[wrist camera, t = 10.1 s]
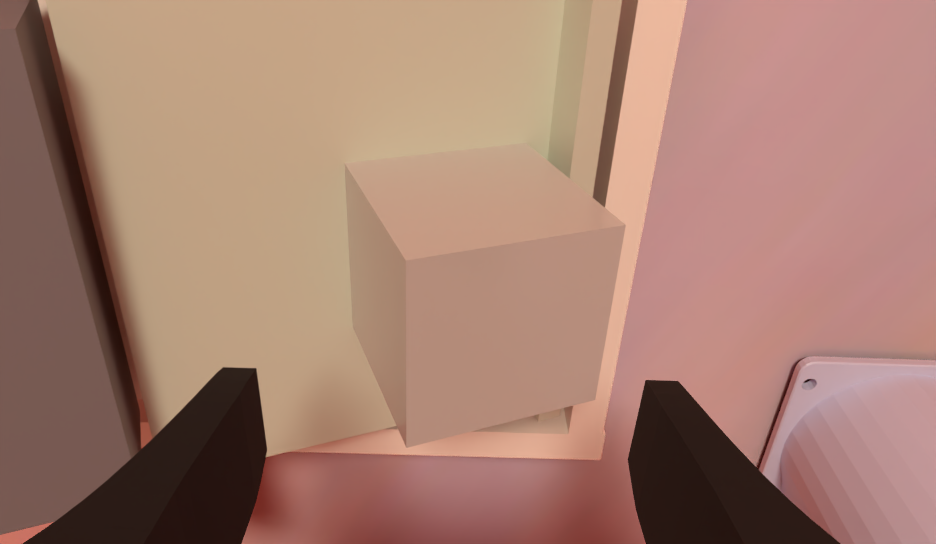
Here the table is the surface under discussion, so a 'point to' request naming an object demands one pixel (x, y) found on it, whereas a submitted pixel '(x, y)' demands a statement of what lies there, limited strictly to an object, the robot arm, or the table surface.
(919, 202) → the table surface
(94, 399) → the trapdoor
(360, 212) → the beige cube
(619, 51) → the frame
